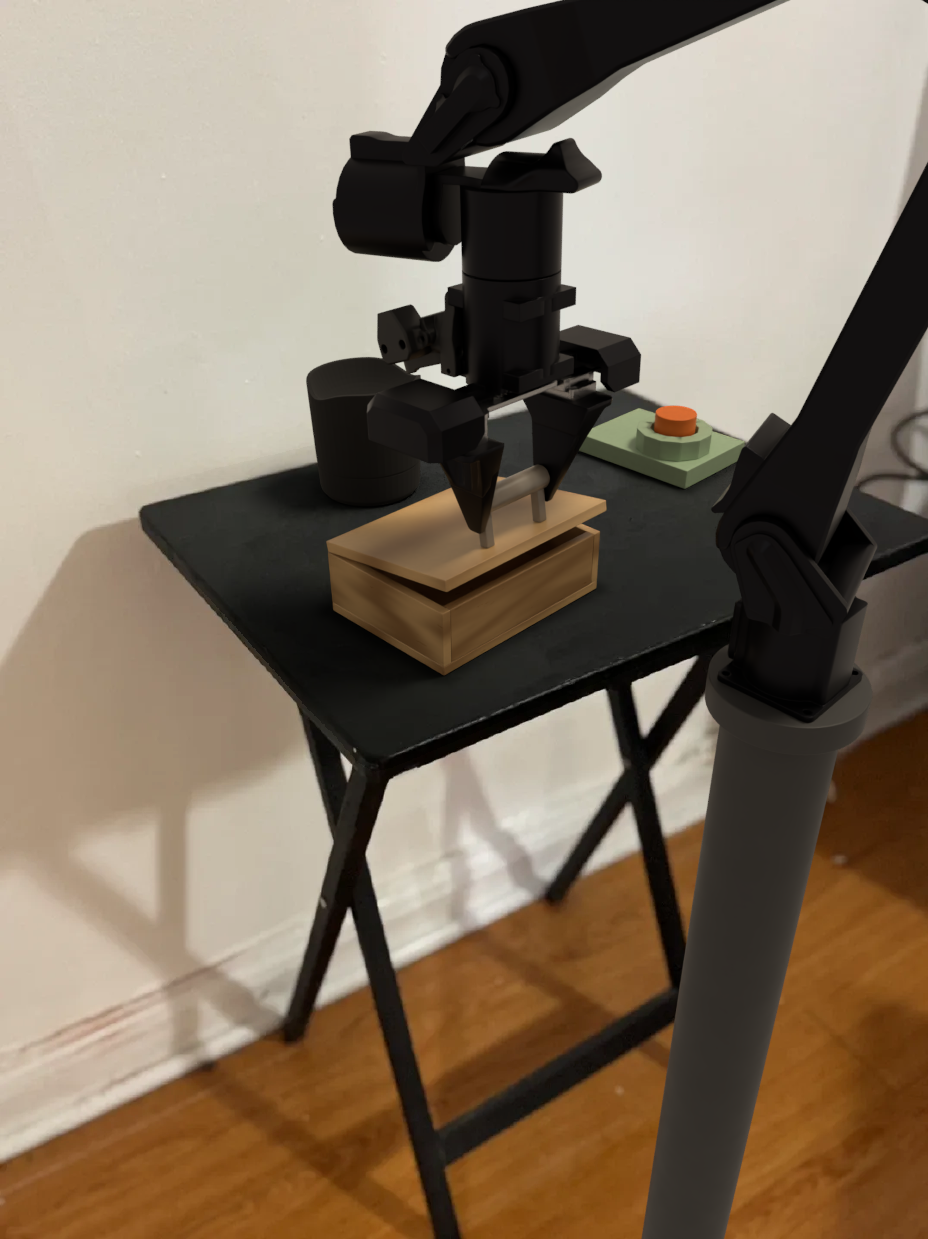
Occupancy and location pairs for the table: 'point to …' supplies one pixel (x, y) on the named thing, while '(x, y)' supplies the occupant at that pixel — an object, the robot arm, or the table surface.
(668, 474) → the control block
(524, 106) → the robot arm
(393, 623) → the wooden case
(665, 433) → the button
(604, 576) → the table surface
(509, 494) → the case lid
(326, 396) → the pen holder
